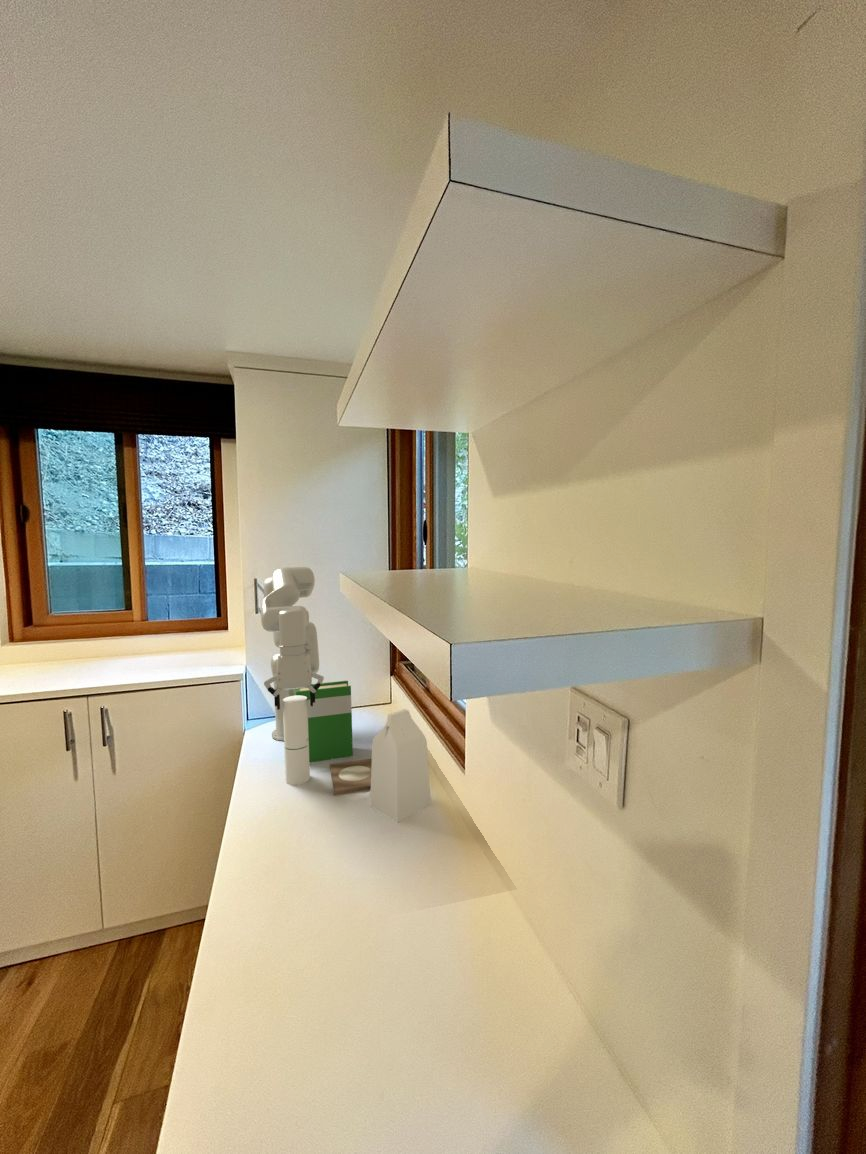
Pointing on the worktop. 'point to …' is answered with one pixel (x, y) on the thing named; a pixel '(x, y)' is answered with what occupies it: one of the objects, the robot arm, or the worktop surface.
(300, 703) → the cylindrical container
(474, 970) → the worktop surface
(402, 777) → the milk
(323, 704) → the hardback book
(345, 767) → the walnut board
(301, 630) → the robot arm
